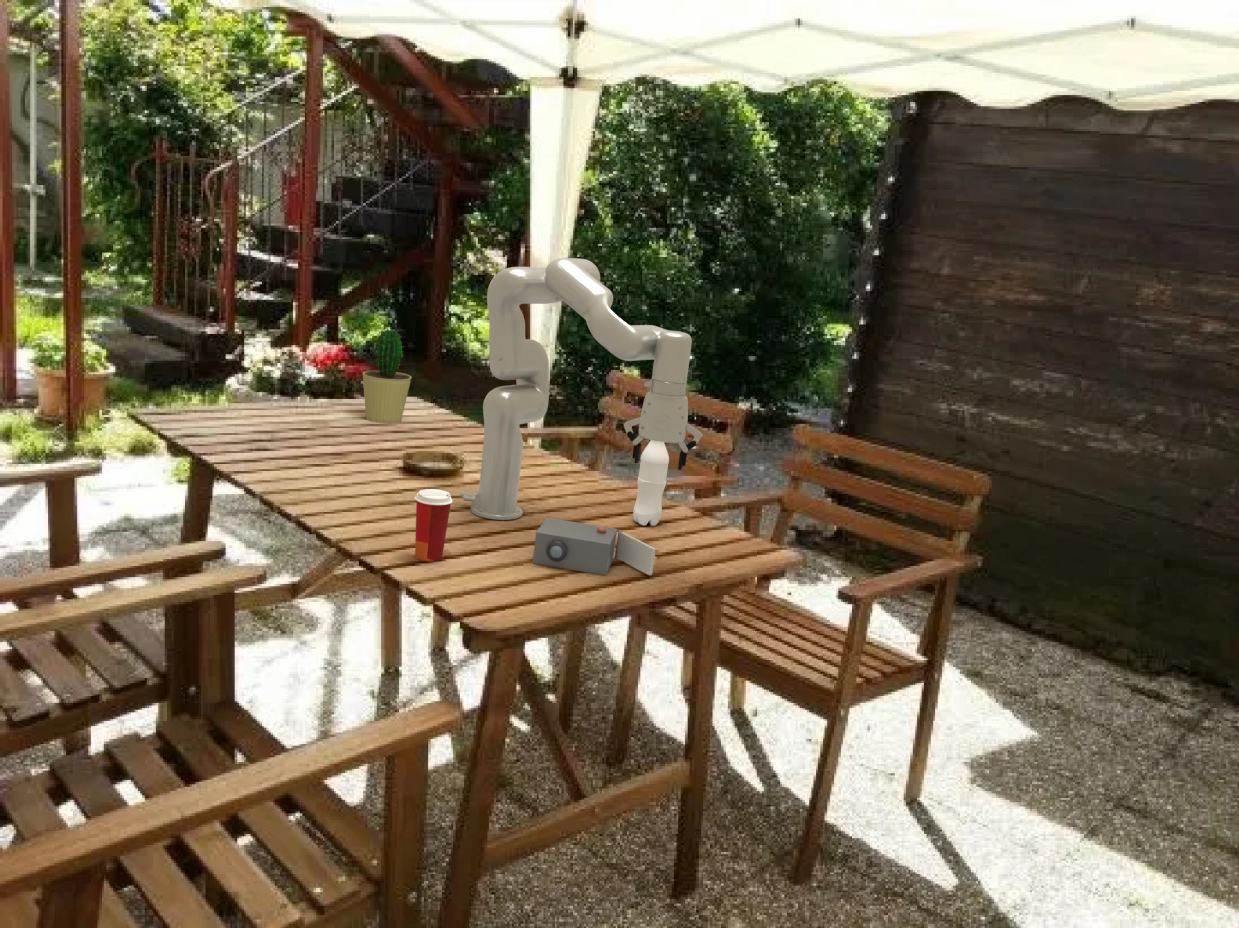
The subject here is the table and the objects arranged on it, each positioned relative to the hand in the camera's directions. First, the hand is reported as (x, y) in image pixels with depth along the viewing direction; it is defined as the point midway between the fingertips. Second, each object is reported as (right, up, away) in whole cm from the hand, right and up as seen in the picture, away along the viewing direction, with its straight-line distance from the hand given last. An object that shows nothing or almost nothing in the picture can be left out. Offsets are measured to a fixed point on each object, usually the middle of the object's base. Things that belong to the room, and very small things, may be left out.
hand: (658, 465), depth 234 cm
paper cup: (-49, -19, -9) cm, 53 cm away
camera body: (-19, -21, 0) cm, 28 cm away
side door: (-5, -22, +1) cm, 23 cm away
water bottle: (-2, -15, +36) cm, 39 cm away
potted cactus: (-85, +15, +113) cm, 142 cm away
